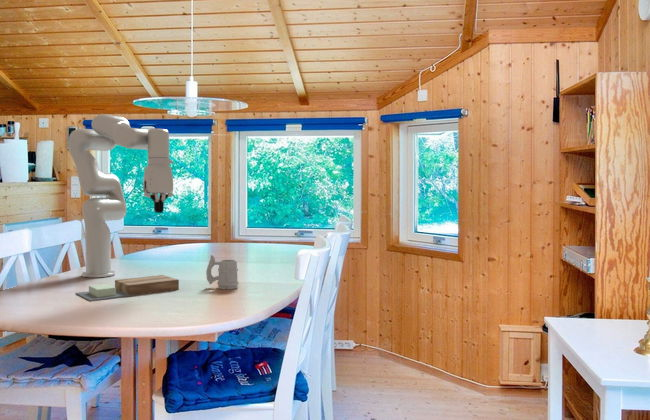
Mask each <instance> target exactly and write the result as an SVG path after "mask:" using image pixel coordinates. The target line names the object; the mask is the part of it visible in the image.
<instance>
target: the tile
mask: <svg viewBox="0 0 650 420" xmlns="http://www.w3.org/2000/svg"><path fill="white" fill-rule="evenodd" d="M88 291H89V293H90V294H92V295H94V296H96V297H104V296H112V295H116V287H115V286H114V285H111V284H110V283H109V284H108V283H102V284H100V283H99V284H93V285H92V284H90V285H88Z"/></svg>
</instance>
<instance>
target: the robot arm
mask: <svg viewBox="0 0 650 420" xmlns="http://www.w3.org/2000/svg"><path fill="white" fill-rule="evenodd" d="M67 142H68V143H67V144H68V145H67V146H68V150H69V154H70V156H71V158H72V160H73V162H74V166H75V169H76V174H77V177H78V182H79V186H80V189H81V192H82V193H83V195H85V196H88V197H89V196H90V198H89V199H87V200H85V201H84V202H83V204H82V205H81V207H82V208H81V212H82V213H81V214H82V218H83V221H84V222H83V223H84V236H85V237H84V238H85V242H84V243H85V271H84V272H81V277H83V278H92V279H93V278H95V279H96V278H107V277H112V276H115V274H116V272H115V271H114V270H112V266H111V265H112V262H111V261H112V260H111V258H112V257H111V254H112V253H111V251H112V250H111V249H112V248H111V247H112V245H111V231H110V228H109V225H108V224H107V222H109V221H120V220H123V219H124V218H125V217H126V215H127V204H126V200H125V196H124V191H123V188H122V183H121V181H120V179H119V177H118V176H117V175H115V174H114V173H112V172H111V173H109V172H101V169H100V168H99V167H100V166H99V163H98V161H97V159H96V157H94V155H93V154H91V152H89V151H97V152H98V151H100V152H101V151H102V152H107V151H109V152H110V151H112V150H113V149H114V148H116V147H117V146H120V147H123V148H126V149H132V150H133V149H134V150H146V151H147V166H145V167H144V173H143V180H142V181H143V182H142V192H143V193H144V194H143V196H144V197H147V198H149V199H151V201H152V202H153V209H154V210H153V211H154V213H156V214H163V213H164V209H165V208H164V203H165V202H166V200H167V198H170V197H173V196H174V178H173V171H172V167H171V166H170V165H171V164H173V160H172V159H171V158H170V133H169V130H168V129H165V128H150V129H144V128H135V127H131V125H130V122H129V121H128V119H126V118H125V117H124V116H121V115H112V114H99V115H96V116H94V117H93V118H92V120H91V129H90V128H78V129H74V130H73V131H71V133H70V134H69V136H68V140H67ZM91 197H92V198H91Z"/></svg>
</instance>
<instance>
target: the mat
mask: <svg viewBox="0 0 650 420" xmlns="http://www.w3.org/2000/svg"><path fill="white" fill-rule="evenodd" d="M75 295H77V296H79V297H81V298H83V299H85V300H86V301H89V302H95V301H104V300H111V299H119V298H126V297H127V298H128V297H134V295H133V294H130V295H129V294H127V293H124V292H122V291H119V290H117V289H116V295H112V296H104V297H96V296H94V295H92V294H90V293H89V290H88V291H83V292H82V291H81V292H75Z"/></svg>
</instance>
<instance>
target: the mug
mask: <svg viewBox="0 0 650 420" xmlns="http://www.w3.org/2000/svg"><path fill="white" fill-rule="evenodd" d="M214 266H218V269H217V272H218V275H215V276H214V275H212V268H213V267H214ZM238 271H239V269H238V261H237V260H236V259H221V260H219V261H216V257H215V256H214V255H213V254H210V259H209V262H208V265H207V267H206V270H205V272H206V280H207V282H208V284H209V285H212V284H213V283H214V282H216V281H217V283H216V284H217V286H218V287H217V288H218V289H219V290H234V289H238V288H239V283H240V282H239V280H238Z"/></svg>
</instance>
